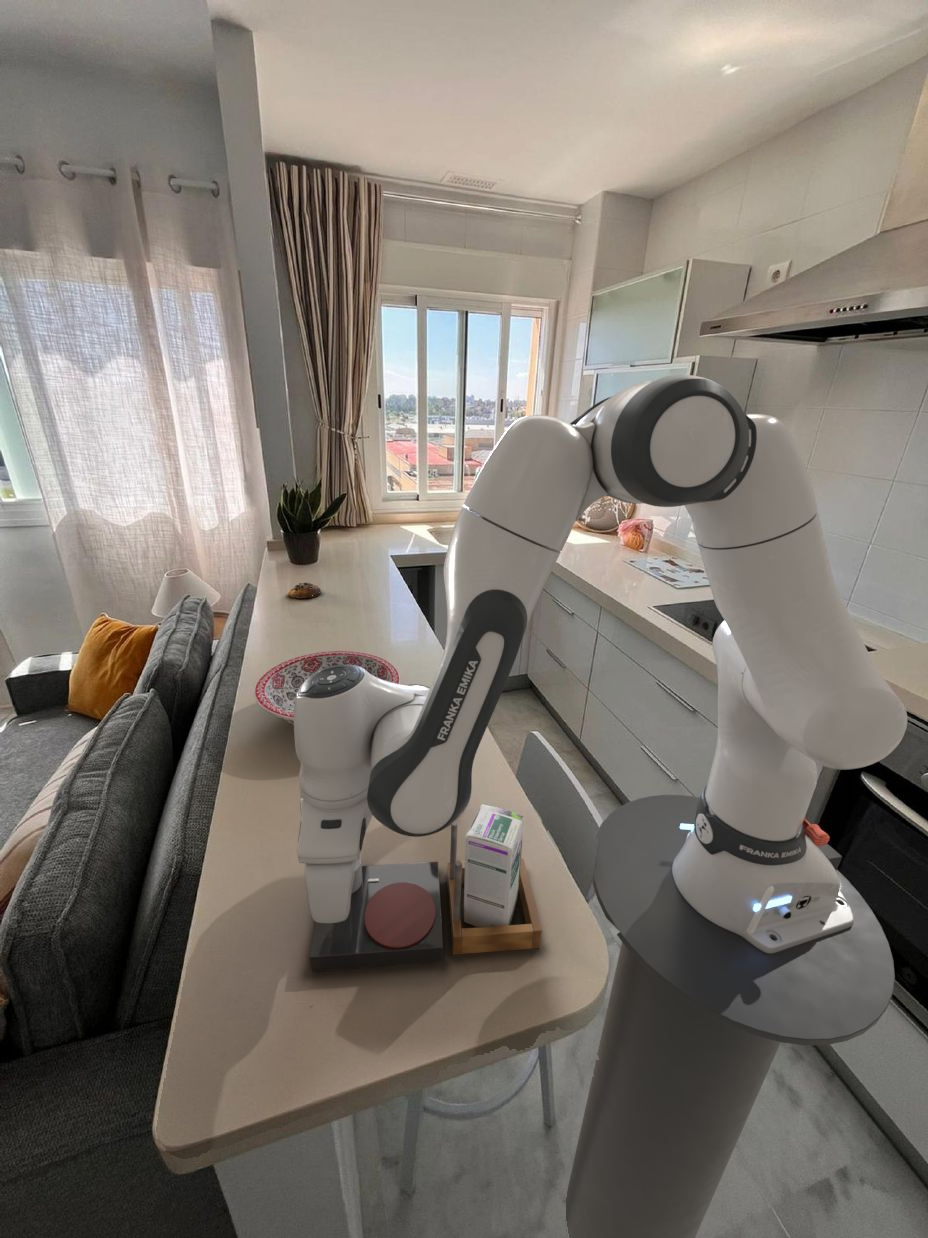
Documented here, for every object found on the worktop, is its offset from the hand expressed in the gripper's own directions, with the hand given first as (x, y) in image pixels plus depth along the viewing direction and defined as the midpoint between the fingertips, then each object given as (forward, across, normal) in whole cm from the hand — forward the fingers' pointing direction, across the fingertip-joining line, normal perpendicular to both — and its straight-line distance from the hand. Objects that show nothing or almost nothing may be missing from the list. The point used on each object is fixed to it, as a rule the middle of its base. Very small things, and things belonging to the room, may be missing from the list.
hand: (345, 879), depth 64 cm
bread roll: (+3, -123, -31) cm, 127 cm away
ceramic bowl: (+3, -44, -9) cm, 45 cm away
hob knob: (0, 0, 0) cm, 0 cm away
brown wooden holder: (+3, +3, +19) cm, 19 cm away
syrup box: (+3, +3, +19) cm, 19 cm away
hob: (+3, +3, +5) cm, 7 cm away
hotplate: (0, +5, +7) cm, 9 cm away
